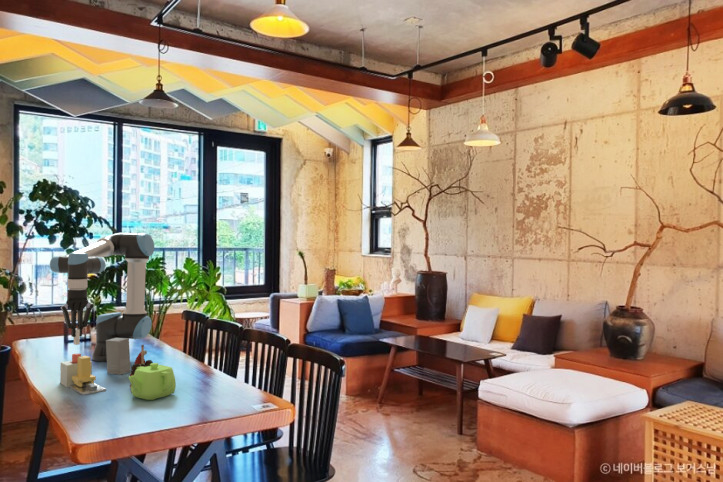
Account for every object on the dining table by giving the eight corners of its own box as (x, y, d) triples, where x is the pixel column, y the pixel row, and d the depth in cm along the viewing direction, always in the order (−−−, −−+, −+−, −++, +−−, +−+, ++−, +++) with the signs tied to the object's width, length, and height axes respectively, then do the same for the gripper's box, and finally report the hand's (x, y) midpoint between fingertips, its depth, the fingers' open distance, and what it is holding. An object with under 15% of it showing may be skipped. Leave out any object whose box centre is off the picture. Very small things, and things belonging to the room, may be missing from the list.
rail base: (91, 383, 235) (91, 377, 235) (105, 390, 224) (106, 384, 224) (68, 387, 228) (69, 381, 228) (82, 394, 218) (82, 388, 218)
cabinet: (85, 379, 241) (85, 358, 241) (92, 382, 236) (92, 362, 235) (60, 383, 234) (60, 362, 234) (67, 387, 228) (67, 365, 228)
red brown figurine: (141, 392, 223) (142, 348, 223) (123, 389, 226) (124, 346, 226) (159, 385, 233) (160, 343, 233) (142, 383, 236) (142, 341, 236)
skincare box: (130, 372, 255) (131, 338, 255) (118, 375, 248) (118, 340, 248) (117, 370, 258) (118, 336, 258) (104, 373, 252) (105, 339, 252)
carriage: (89, 380, 234) (89, 354, 234) (95, 384, 229) (96, 357, 229) (71, 383, 229) (72, 356, 229) (77, 387, 224) (78, 359, 224)
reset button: (79, 364, 237) (79, 353, 237) (82, 366, 235) (82, 354, 235) (70, 365, 235) (70, 354, 235) (73, 367, 232) (73, 355, 232)
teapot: (145, 408, 203) (145, 372, 203) (112, 398, 214) (112, 365, 214) (185, 396, 219) (185, 363, 219) (152, 388, 230) (153, 357, 230)
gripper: (90, 287, 242) (89, 341, 242) (57, 289, 232) (56, 344, 232) (96, 288, 237) (95, 343, 237) (64, 290, 227) (63, 347, 227)
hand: (76, 344), depth 235 cm, fingers closed
